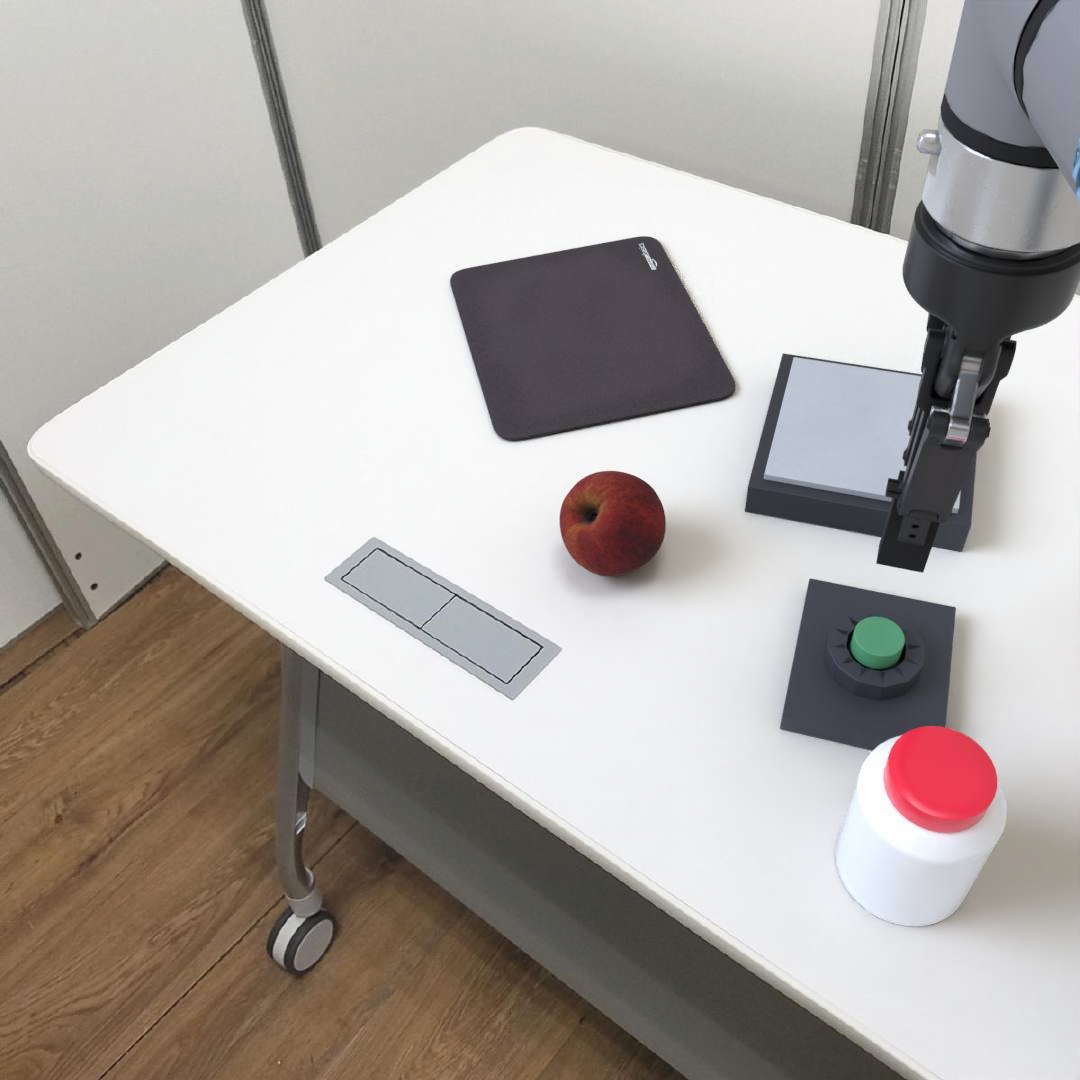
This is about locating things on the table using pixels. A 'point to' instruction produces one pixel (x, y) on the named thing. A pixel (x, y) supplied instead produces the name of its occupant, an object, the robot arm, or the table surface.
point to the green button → (877, 642)
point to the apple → (612, 523)
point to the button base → (867, 668)
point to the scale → (841, 448)
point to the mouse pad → (586, 338)
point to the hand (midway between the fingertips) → (900, 558)
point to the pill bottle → (920, 825)
